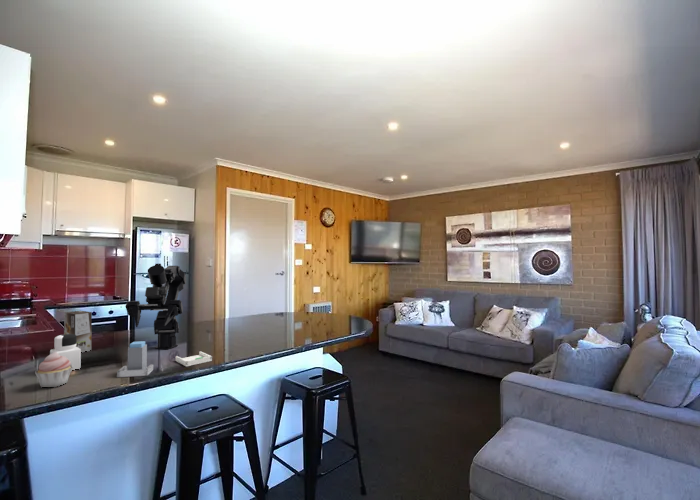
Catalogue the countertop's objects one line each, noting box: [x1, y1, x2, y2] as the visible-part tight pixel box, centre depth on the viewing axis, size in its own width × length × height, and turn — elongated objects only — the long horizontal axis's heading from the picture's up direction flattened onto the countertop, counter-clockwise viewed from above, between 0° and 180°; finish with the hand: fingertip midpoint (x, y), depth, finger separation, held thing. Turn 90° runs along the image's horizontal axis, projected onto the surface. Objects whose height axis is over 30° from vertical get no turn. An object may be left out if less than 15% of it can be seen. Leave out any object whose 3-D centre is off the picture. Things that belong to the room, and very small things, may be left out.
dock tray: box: [175, 351, 213, 367], centre depth 136 cm, size 10×10×2 cm
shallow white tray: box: [116, 363, 154, 378], centre depth 121 cm, size 6×9×2 cm, turn 101°
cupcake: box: [34, 352, 73, 388], centre depth 111 cm, size 9×9×10 cm
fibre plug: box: [127, 340, 148, 370], centre depth 123 cm, size 4×4×10 cm
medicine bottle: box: [49, 333, 82, 371], centre depth 125 cm, size 7×7×12 cm
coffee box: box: [63, 310, 93, 353], centre depth 149 cm, size 9×6×16 cm
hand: (150, 325), depth 131 cm, fingers open, 9 cm apart
